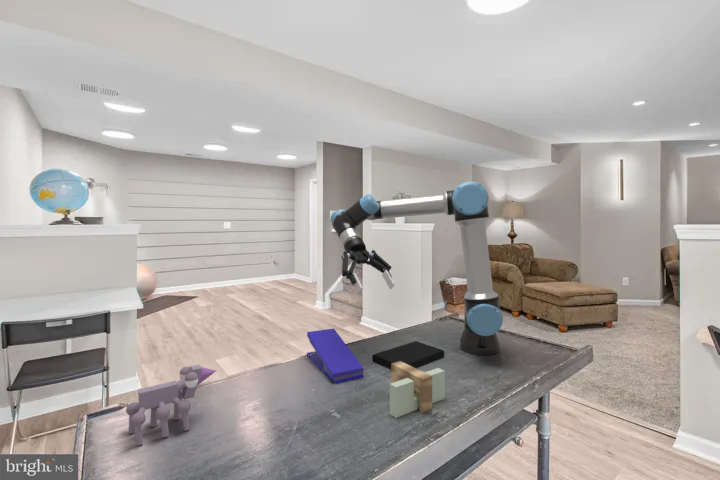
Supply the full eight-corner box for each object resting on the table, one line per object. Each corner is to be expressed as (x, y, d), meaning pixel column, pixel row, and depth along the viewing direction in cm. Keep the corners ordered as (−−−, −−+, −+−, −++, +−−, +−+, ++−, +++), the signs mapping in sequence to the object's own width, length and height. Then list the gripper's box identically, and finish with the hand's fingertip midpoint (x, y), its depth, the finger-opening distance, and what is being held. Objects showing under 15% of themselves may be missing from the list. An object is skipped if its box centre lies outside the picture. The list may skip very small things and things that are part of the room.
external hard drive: (444, 358, 132) (444, 350, 132) (400, 375, 117) (400, 366, 117) (415, 348, 143) (415, 340, 143) (372, 362, 128) (372, 354, 128)
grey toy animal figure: (212, 404, 98) (211, 356, 97) (224, 421, 89) (222, 368, 89) (126, 430, 86) (124, 375, 85) (130, 452, 77) (128, 391, 77)
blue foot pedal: (332, 351, 140) (331, 326, 139) (365, 378, 115) (365, 348, 115) (304, 356, 134) (303, 331, 134) (333, 385, 110) (332, 354, 109)
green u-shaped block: (438, 395, 103) (438, 367, 102) (444, 398, 100) (444, 370, 100) (389, 413, 92) (389, 383, 92) (395, 418, 90) (395, 387, 90)
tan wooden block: (391, 393, 103) (391, 363, 103) (400, 390, 105) (400, 360, 105) (422, 413, 93) (422, 379, 92) (432, 409, 95) (432, 376, 94)
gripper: (375, 248, 142) (399, 291, 130) (320, 251, 128) (341, 299, 116) (383, 235, 137) (409, 278, 126) (326, 237, 123) (350, 285, 112)
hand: (377, 288), depth 121 cm, fingers open, 13 cm apart
